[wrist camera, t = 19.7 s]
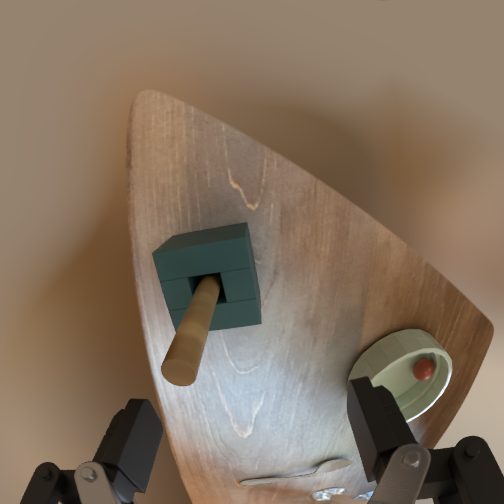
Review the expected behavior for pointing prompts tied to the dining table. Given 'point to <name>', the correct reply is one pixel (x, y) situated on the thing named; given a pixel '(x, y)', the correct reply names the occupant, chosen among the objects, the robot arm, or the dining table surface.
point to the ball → (423, 369)
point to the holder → (206, 262)
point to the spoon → (321, 469)
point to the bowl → (406, 369)
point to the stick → (192, 333)
